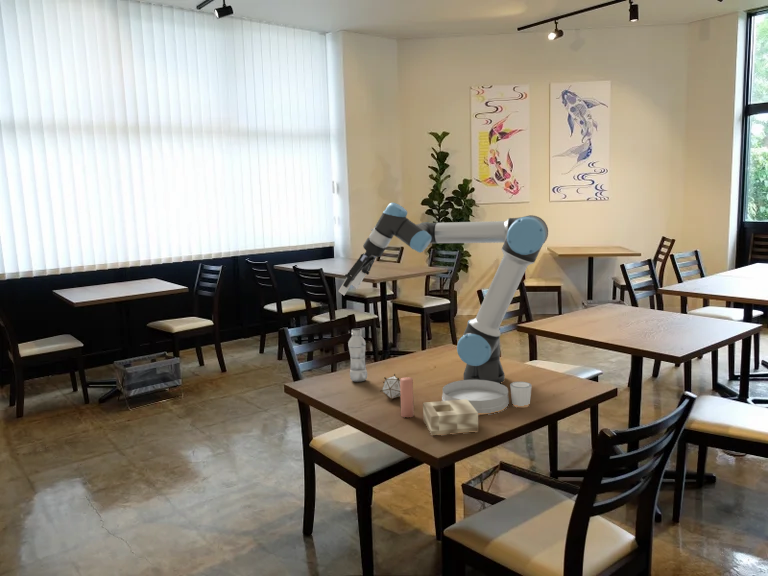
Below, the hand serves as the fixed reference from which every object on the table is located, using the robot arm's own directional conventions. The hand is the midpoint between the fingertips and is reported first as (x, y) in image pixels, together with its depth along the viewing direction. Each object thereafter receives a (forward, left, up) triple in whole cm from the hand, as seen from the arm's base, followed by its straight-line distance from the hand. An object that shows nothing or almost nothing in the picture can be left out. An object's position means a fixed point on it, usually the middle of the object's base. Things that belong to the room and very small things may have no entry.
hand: (347, 289), depth 225 cm
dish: (-39, +33, -36) cm, 62 cm away
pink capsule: (-15, +39, -35) cm, 55 cm away
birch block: (-26, +51, -35) cm, 67 cm away
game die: (-13, +22, -35) cm, 44 cm away
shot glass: (-53, +38, -35) cm, 74 cm away
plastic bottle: (-3, 0, -35) cm, 36 cm away
